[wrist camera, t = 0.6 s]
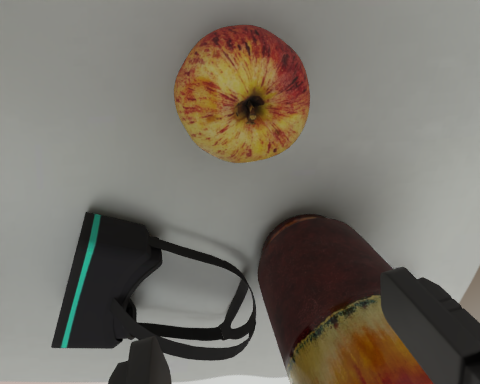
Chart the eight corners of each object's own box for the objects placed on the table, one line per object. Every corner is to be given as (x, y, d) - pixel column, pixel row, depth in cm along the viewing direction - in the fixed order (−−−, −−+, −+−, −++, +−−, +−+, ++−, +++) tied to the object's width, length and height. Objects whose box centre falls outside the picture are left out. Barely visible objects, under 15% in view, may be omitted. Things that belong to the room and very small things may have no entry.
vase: (369, 216, 36) (744, 553, 12) (328, 301, 39) (554, 688, 16) (272, 193, 33) (509, 574, 9) (237, 286, 36) (344, 732, 13)
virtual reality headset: (87, 207, 30) (68, 280, 21) (255, 240, 37) (293, 307, 28) (61, 305, 34) (36, 403, 25) (220, 320, 40) (244, 401, 31)
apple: (303, 65, 29) (360, 74, 20) (252, 159, 31) (282, 205, 22) (205, 6, 26) (219, -15, 17) (158, 115, 28) (147, 147, 19)
